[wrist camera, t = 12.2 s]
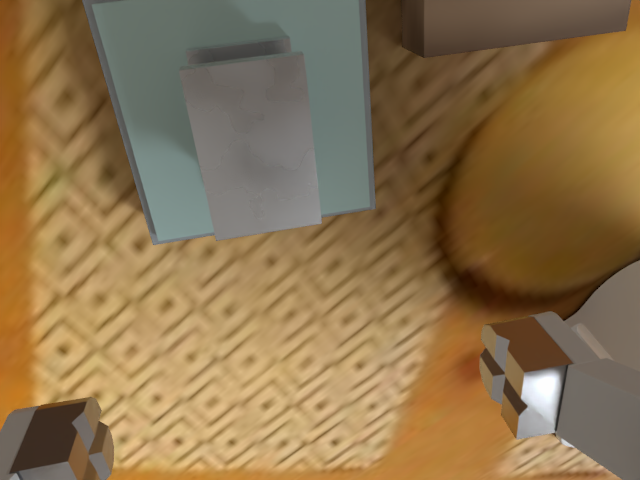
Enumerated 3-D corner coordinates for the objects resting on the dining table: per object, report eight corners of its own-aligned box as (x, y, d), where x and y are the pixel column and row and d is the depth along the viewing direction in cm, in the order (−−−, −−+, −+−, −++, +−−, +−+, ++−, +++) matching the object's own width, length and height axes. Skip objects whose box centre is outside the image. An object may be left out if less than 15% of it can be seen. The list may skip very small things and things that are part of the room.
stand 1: (363, 188, 36) (378, 212, 33) (158, 220, 35) (152, 249, 32) (349, -40, 30) (366, -39, 26) (94, -11, 28) (77, -6, 25)
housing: (304, 178, 31) (322, 223, 26) (216, 192, 31) (216, 240, 25) (287, 35, 27) (304, 54, 22) (186, 48, 27) (178, 70, 21)
